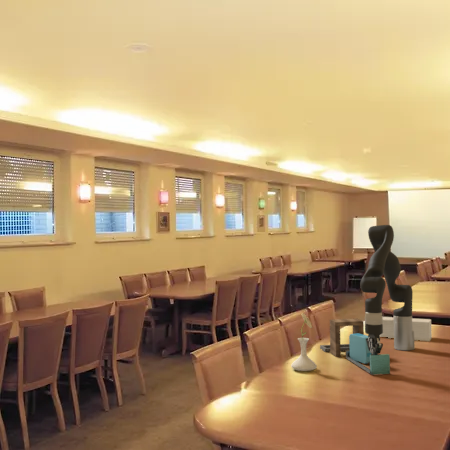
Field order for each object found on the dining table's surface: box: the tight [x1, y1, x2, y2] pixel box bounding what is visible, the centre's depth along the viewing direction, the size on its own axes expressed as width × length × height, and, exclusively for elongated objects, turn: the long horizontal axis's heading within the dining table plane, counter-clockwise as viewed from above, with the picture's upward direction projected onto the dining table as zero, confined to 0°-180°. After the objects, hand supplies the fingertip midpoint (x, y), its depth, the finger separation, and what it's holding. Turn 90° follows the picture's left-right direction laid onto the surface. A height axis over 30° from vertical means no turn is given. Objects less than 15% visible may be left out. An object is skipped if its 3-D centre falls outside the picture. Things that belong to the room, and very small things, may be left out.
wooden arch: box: [329, 318, 365, 358], centre depth 255 cm, size 15×8×17 cm, turn 98°
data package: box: [348, 333, 372, 365], centre depth 239 cm, size 12×4×12 cm, turn 26°
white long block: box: [379, 316, 433, 342], centre depth 294 cm, size 32×11×11 cm, turn 63°
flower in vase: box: [290, 312, 318, 372], centre depth 228 cm, size 13×11×25 cm
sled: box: [345, 350, 391, 376], centre depth 231 cm, size 8×30×8 cm, turn 8°
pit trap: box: [319, 343, 350, 353], centre depth 266 cm, size 18×8×2 cm, turn 98°
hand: (374, 362), depth 222 cm, fingers closed
